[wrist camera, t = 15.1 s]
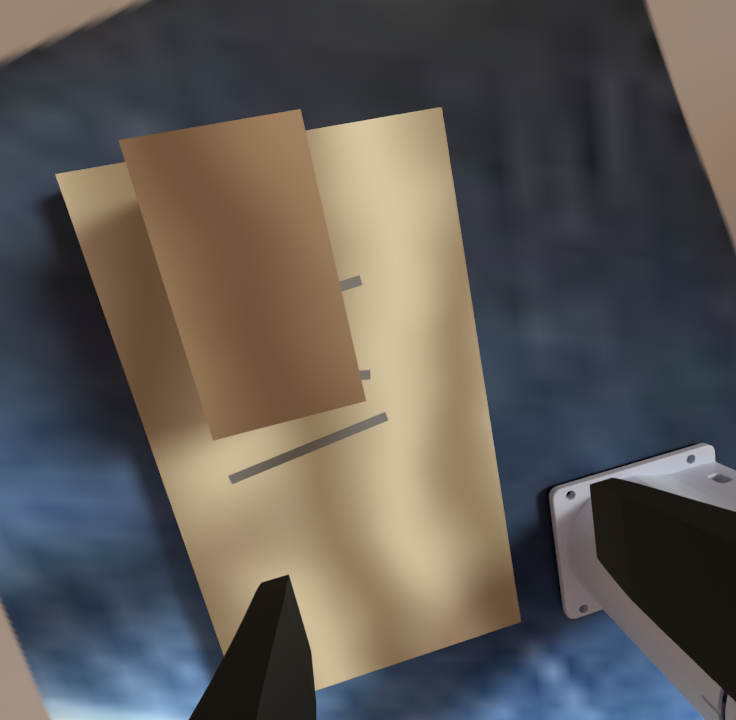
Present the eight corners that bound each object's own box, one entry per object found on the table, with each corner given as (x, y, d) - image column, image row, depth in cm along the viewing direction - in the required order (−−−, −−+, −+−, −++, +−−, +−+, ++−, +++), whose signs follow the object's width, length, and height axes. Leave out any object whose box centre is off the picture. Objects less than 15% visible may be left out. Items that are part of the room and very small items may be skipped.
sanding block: (299, 162, 16) (300, 109, 11) (346, 367, 17) (365, 400, 13) (175, 185, 15) (118, 140, 10) (237, 394, 17) (212, 440, 12)
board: (429, 121, 18) (441, 106, 16) (506, 600, 23) (521, 622, 21) (77, 183, 16) (54, 174, 14) (247, 684, 21) (244, 715, 20)
